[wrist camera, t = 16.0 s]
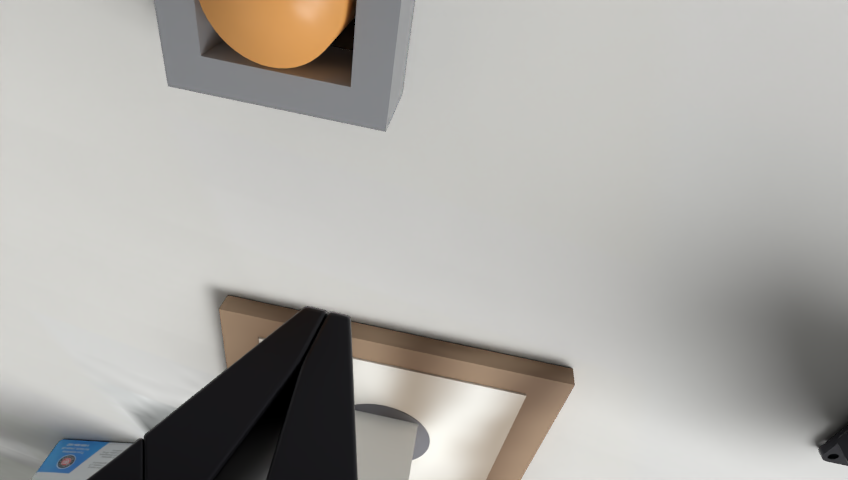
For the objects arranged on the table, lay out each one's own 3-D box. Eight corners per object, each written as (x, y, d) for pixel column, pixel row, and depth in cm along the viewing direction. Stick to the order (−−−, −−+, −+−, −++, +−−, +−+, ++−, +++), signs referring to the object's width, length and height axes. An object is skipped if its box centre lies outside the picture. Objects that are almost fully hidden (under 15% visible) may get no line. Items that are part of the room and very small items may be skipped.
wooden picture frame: (572, 368, 26) (574, 387, 25) (496, 507, 36) (496, 525, 35) (227, 295, 26) (217, 311, 25) (246, 453, 36) (239, 469, 35)
